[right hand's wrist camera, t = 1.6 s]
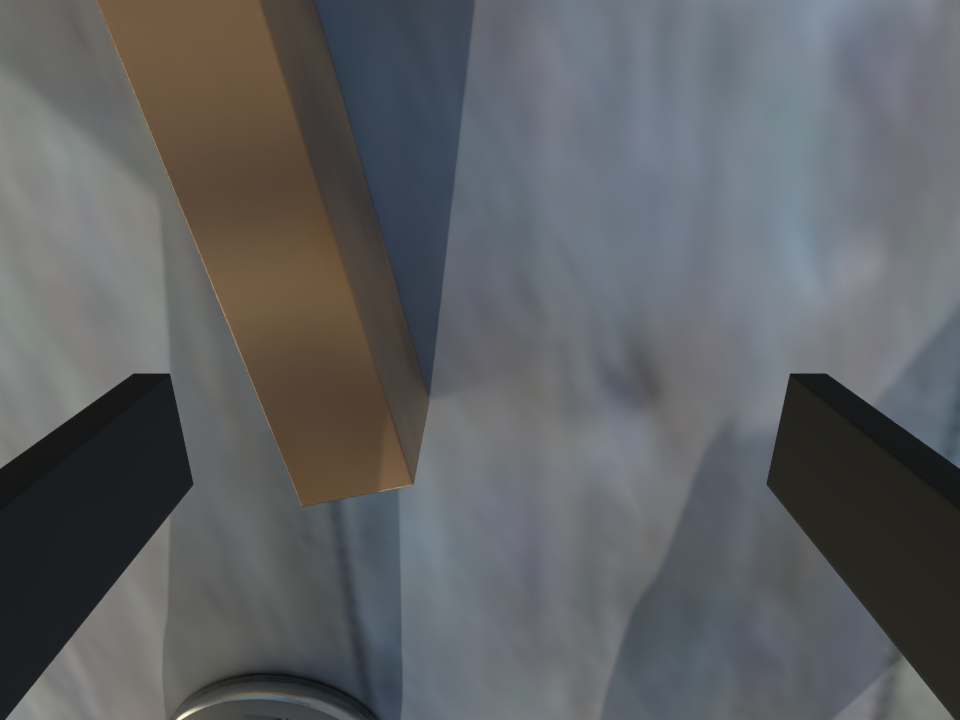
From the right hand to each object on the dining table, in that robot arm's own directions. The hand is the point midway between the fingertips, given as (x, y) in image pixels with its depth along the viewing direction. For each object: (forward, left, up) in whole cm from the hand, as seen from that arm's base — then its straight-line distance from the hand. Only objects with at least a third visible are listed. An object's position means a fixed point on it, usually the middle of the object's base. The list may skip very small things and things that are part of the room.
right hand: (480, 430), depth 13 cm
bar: (+4, +32, -16) cm, 36 cm away
